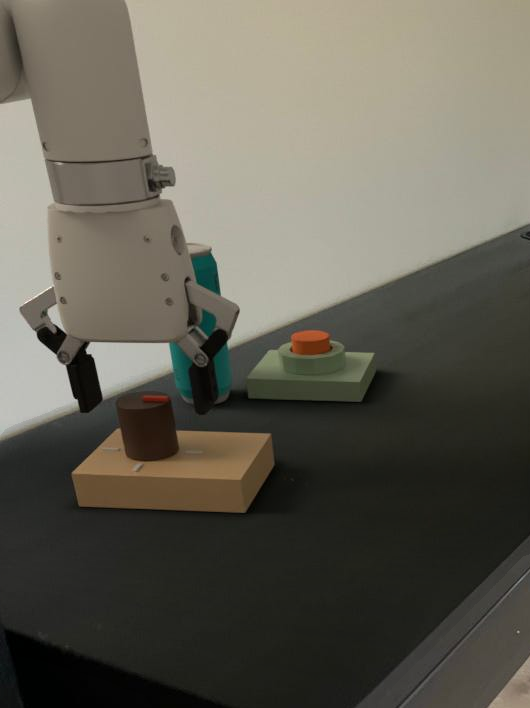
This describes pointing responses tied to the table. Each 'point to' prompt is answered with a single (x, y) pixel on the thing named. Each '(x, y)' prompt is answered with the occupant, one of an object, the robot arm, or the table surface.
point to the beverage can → (203, 328)
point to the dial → (147, 425)
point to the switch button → (310, 342)
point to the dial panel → (178, 474)
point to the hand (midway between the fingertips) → (148, 408)
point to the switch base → (312, 375)
